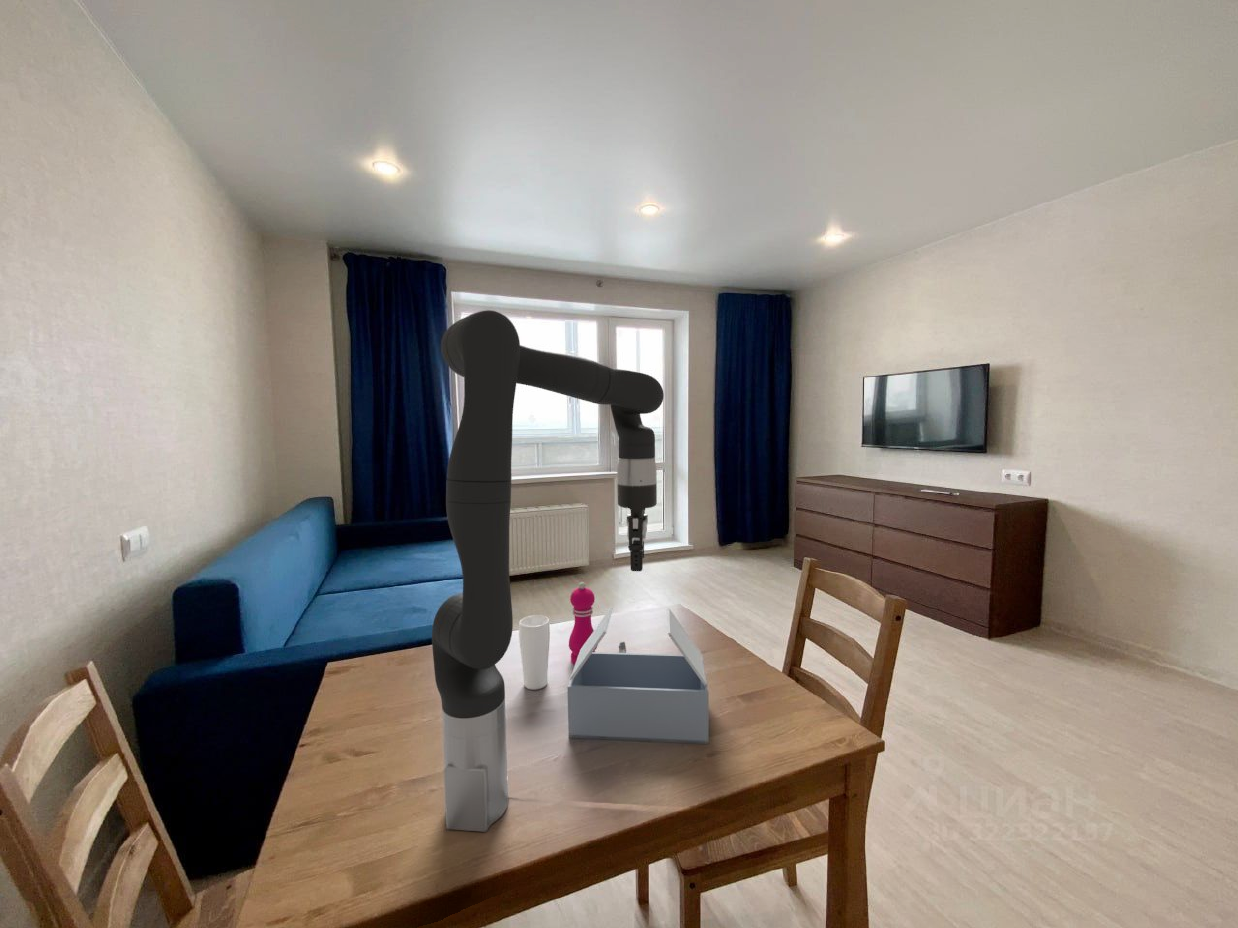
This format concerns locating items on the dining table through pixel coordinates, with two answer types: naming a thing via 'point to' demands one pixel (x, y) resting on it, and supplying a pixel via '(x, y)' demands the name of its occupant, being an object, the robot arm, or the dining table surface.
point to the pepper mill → (581, 619)
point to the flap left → (592, 642)
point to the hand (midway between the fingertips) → (637, 564)
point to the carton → (638, 699)
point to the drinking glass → (534, 650)
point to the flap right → (685, 645)
